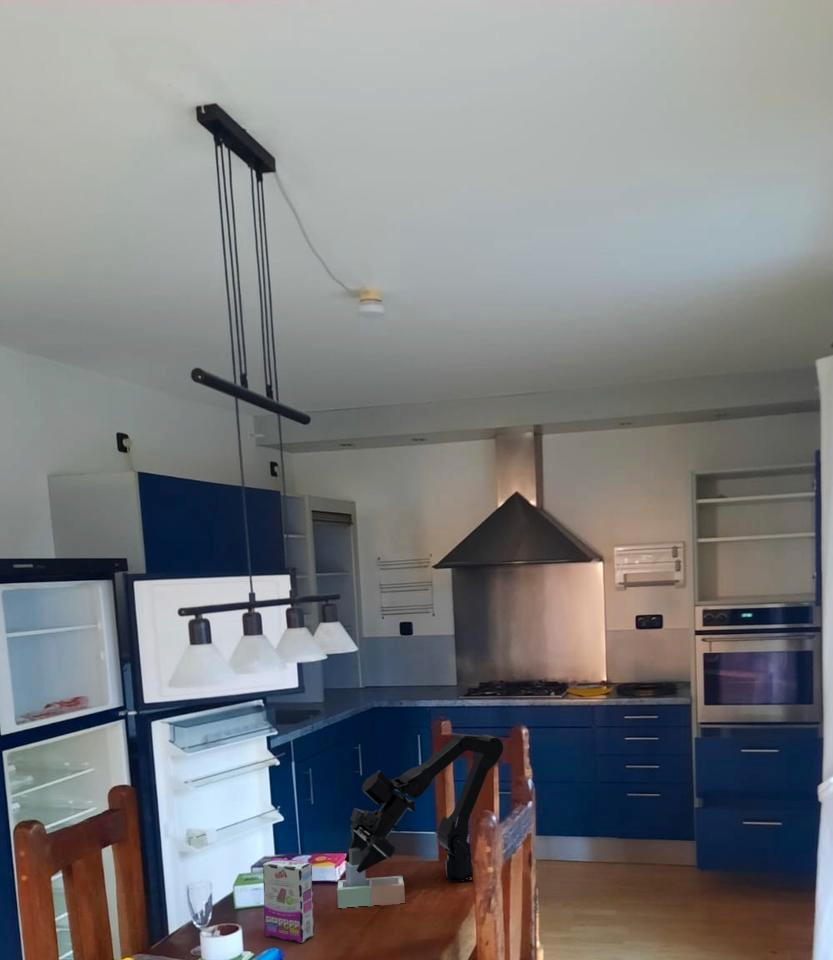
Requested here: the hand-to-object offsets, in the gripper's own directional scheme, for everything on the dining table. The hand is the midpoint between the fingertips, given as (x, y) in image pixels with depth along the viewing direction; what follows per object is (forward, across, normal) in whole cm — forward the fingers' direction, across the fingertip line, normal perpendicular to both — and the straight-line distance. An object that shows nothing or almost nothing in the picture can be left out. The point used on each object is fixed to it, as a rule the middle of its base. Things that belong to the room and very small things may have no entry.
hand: (351, 866), depth 215 cm
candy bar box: (+20, +12, -8) cm, 25 cm away
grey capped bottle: (+5, 0, +7) cm, 9 cm away
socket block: (+3, +1, +9) cm, 10 cm away
